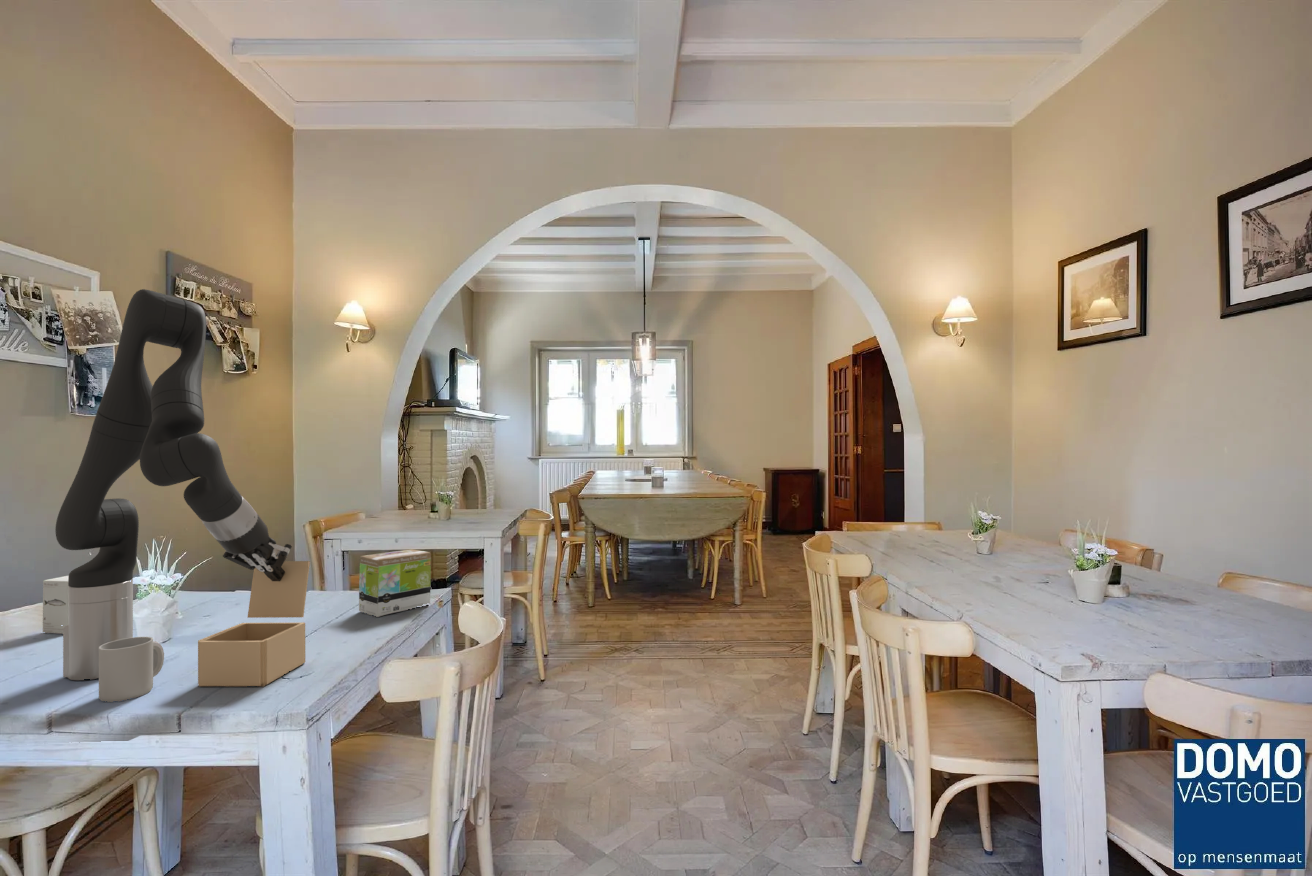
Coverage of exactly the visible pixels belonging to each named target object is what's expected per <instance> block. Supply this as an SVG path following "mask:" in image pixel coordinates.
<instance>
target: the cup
mask: <svg viewBox="0 0 1312 876" xmlns="http://www.w3.org/2000/svg"><path fill="white" fill-rule="evenodd" d="M164 662H165V651H164V648H163V646H162V644H161V643H159V642H157V641H155V640H154V638H153V637H151V636H133V638H126V639H121V640H116V641H112V642H109V643H106V644H103V645H101V646H100V647H99V678H98V699H99V700H100V701H101V702H103V701H105V702H104V703H114V702H113V701H118V702H123V701H122V700H124V701H128V700H127V699H129V700H131V699H130V698H133V699H135V698H139V697H142V696H144V695H146V694H149V693H150V692H151V690H153V688H154V677H156V676H157V675H158V674H159V673H160V672H161V671H162V668H163V666H164ZM106 701H107V702H106Z"/></svg>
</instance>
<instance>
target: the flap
mask: <svg viewBox="0 0 1312 876" xmlns="http://www.w3.org/2000/svg"><path fill="white" fill-rule="evenodd" d="M310 566H311V560H310V561H309V560H285V561H284V563H283V565H282V569H283V570H284V571H285V574H284V576H283V578H282V579H281V581H271V579H269V578H268V577H267V576H266V574H265V573H264V572H261V571H259V570H258V569H257V568H255V569H254V570H253V574H252V581H251V589H250V597H249V602H248V603H249V604H248V611H247V619H249V618H250V619H251V618H252V619H253V618H254V619H255V618H259V619H261V618H266V619H267V618H271V619H272V618H273V619H274V618H277V619H278V618H304V616H305V608H306V607H305V606H306V598H307V589H308V581H309V575H310Z"/></svg>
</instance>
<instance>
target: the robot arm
mask: <svg viewBox="0 0 1312 876" xmlns="http://www.w3.org/2000/svg"><path fill="white" fill-rule="evenodd" d="M128 303H129V304H128V306H127V309H126V310H125V312H126V313H125V314H124V315H125V316H124V320H123V324H122V328H121V331H120V337H119V341H118V346H117V349H116V354H115V357H114V362H113V365H112V369H111V371H110V375H109V379H108V381H107V383H106V387H105V389H104V392H103V395H102V397H101V400H100V403H99V405H98V407H97V411H96V414H95V417H94V420H93V423H92V425H91V429H90V434H89V438H88V441H87V445H86V447H85V449H84V454H83V457H82V460H81V462H80V465H79V468H78V470H77V472H76V475H75V476H74V479H73V481H72V483H71V485H70V487H69V490H68V492H67V494H66V495H65V498H64V499H63V502H62V504H61V507H60V509H59V511H58V515H57V518H56V523H55V528H54V529H55V531H54V532H55V538H56V541H57V543H58V545H59V546H60V547H61V548H63V549H65V550H69V551H83V550H85V551H86V550H90V549H91V550H92V549H99V551H98V553H97V554H96V555H95V556H94V557H93V558H91V559H90V560H89V561H87V562H86V563H84V564H82V565H79V566H78V567H76V568H74V569H72V570H71V571H70V572H69V574H68V576H69V578H68V586H69V588H68V602H69V625H67V626H65V627H64V628H63V635H62V636H63V637H62V640H63V641H62V648H63V649H62V650H63V651H62V677H63V678H67V679H68V680H71V681H85V680H84V679H90V680H95V679H99V647H100V646H101V645H103V644H106V643H109V642H112V641H116V640H121V639H126V638H133V637H134V579H133V578H134V570H135V566H136V563H137V560H138V558H137V557H138V542H139V541H138V540H139V528H140V527H139V526H140V525H139V524H140V523H139V521H140V520H139V515H138V510H137V508H136V506H135V505H134V504H133V502H131V501H130V500H129V499H126V498H121V497H119V498H106V496H107V494H108V492H109V490H110V488H111V487H112V486H113V485H114V483H116V481H117V480H118V479H119V478H120V477H121V476H123V475H124V473H126V472H127V471H128V470H129V469H130V468H132V467H133V466H134V465H135V464H136V463H137V462H139V467H140V471H141V473H142V475H143V476H144V478H145V479H146V480H147V481H148V482H149V483H151V484H153V485H155V486H158V487H168V486H169V487H170V486H173V485H178V484H181V483H184V482H187V481H191V480H193V481H192V482H190V483H189V484H188V485H187V486H186V487H185V489H184V490H183V491H184V492H183V499H184V501H185V503H186V504H187V505H188V506H189V508H190V509H191V510H192V511H193V512H194V513H195V515H196V516H197V517H198V518H199V519H200V521H201V522H202V524H203V525H204V527H205V529H206V530H207V531H208V532H209V534H210V535H212V537H213V538H214V539H215V540H216V542H218V543H219V544H220V546H221V547H222V548H223V550H225V551H224V553H223V554H222V558H224V559H226V560H228V561H231V563H235V564H238V565H239V566H241V567H243V568H246V569H248V570H251V571H254V569H255V568H257V569H258V570H259V571H261V572H264V573H265V574H266V576H267V577H268V578H269V579H271V581H281V579H282V578H283V576H284V574H285V571H284V570H283V569H282V565H283V563H284V561H286V559H287V558H288V556H289V554H290V552H291V549H292V547H293V546H292V545H291V544H289V543H286V544H285V545H284V546H282V545H279V544H277V542H276V540H275V539H274V538H272V537H270V535H269V529H268V526H267V525H266V522H264V520H263V519H262V518H261V516H260V515H259V514H258V512H257V511H256V510H255V509H254V508H253V506H252V505H251V504H250V503H249V502H248V500H247V499H245V498H244V496H243V495H242V494H241V493H240V491H238V489H237V488H236V487H235V485H234V483H232V481H231V479H230V478H229V475H228V473H227V470H226V467H225V464H224V461H223V455H222V452H221V449H220V446H219V445H218V442H217V440H215V439H214V438H213V437H211V436H209V435H208V434H205V433H200V432H201V431H202V430H203V428H204V426H205V413H204V404H203V403H204V402H203V395H202V379H203V378H202V377H203V369H204V359H205V349H206V348H205V346H206V336H207V316H206V314H205V310H204V309H203V307H202V306H201V305H199V304H198V303H195V302H193V301H189V300H185V299H182V298H179V297H176V296H172V295H169V294H165V293H163V292H162V293H161V292H159V291H154V290H150V289H145V288H143V289H139V290H137V291H136V292H135V293H133V295H132V297H131V299H130V301H129V302H128ZM148 342H149V343H152V344H157V345H160V346H164V347H170V348H174V349H179V350H180V356H178V358H177V360H176V361H174V362H173V363H172V364H171V366H169V367H168V368H167V369H166V370H164V371H163V372H162V373H161V374H160V375H159V376H158V377H157V378H156V379H155V381H154V383H153V384H152V382H151V380H150V378H149V375H148V371H147V369H146V366H145V360H144V353H145V352H144V350H145V346H146V343H148ZM130 580H131V582H130Z"/></svg>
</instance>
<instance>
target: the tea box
mask: <svg viewBox="0 0 1312 876" xmlns="http://www.w3.org/2000/svg"><path fill="white" fill-rule="evenodd" d="M431 556H432V553H431V552H430V551H424V550H419V549H411V548H410V549H404V550H403V549H402V550H395V551H390V552H381V553H374V554H367V555H365V554H364V555H360V556H359V574H358V575H359V576H358V577H359V578H358V580H359V582H358V584H359V585H358V588H359V589H358V612H360V613H363V612H364V613H363V614H366V613H367V614H366V615H368V616H369V615H370V616H372V615H374V616H373V617H375V616H376V618H379V617H383V616H387V615H390V614H395V613H399V612H404V611H408V609H410V610H413V609H412V608H415V607H417V606H422V605H423V604H427V603H430V604H431V590H432V589H431V582H432V581H431V570H432V569H431V567H432V563H431V562H432V558H431ZM415 609H416V608H415Z"/></svg>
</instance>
